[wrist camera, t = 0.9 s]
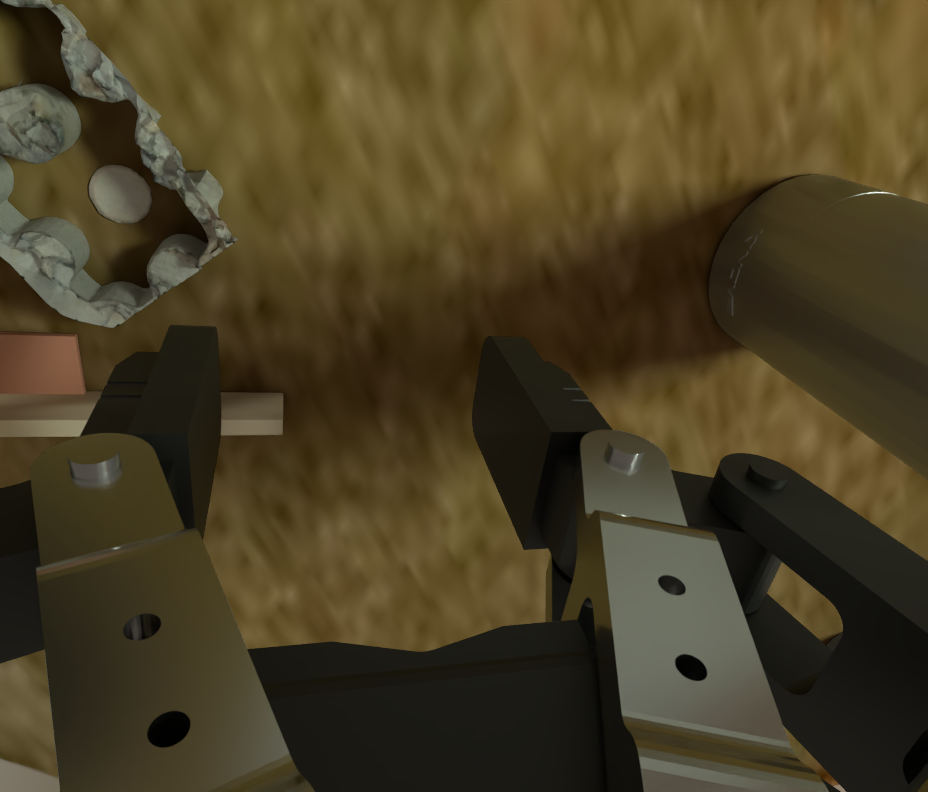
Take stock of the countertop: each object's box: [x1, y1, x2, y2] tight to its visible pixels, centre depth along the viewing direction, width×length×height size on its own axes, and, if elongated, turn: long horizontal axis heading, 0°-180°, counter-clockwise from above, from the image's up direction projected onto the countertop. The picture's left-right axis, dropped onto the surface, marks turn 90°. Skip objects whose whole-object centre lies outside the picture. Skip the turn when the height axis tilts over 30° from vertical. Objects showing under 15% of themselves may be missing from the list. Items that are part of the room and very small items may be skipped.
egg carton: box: [0, 0, 237, 328], centre depth 23 cm, size 11×8×4 cm
